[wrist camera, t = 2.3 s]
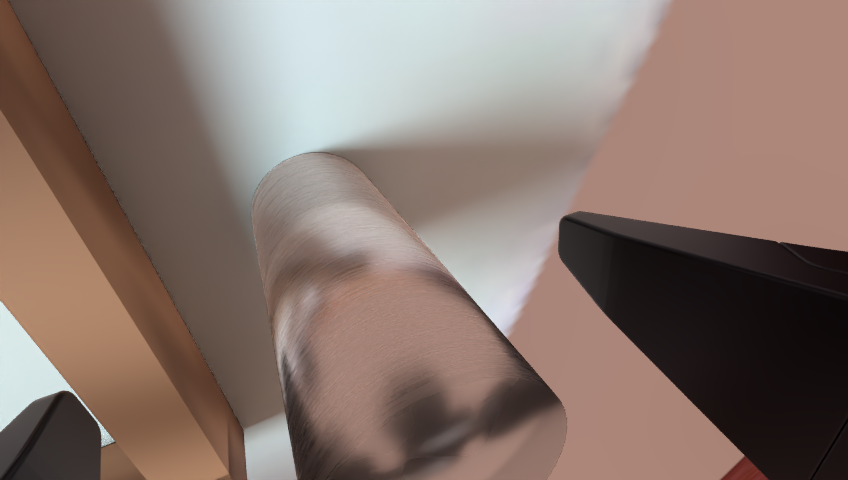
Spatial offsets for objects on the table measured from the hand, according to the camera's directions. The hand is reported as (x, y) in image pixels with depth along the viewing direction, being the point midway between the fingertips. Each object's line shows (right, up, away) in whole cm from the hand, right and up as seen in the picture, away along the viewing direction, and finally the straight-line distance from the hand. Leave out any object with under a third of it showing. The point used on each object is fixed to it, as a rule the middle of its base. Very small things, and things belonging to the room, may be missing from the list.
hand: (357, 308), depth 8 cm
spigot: (-2, +2, +3) cm, 4 cm away
